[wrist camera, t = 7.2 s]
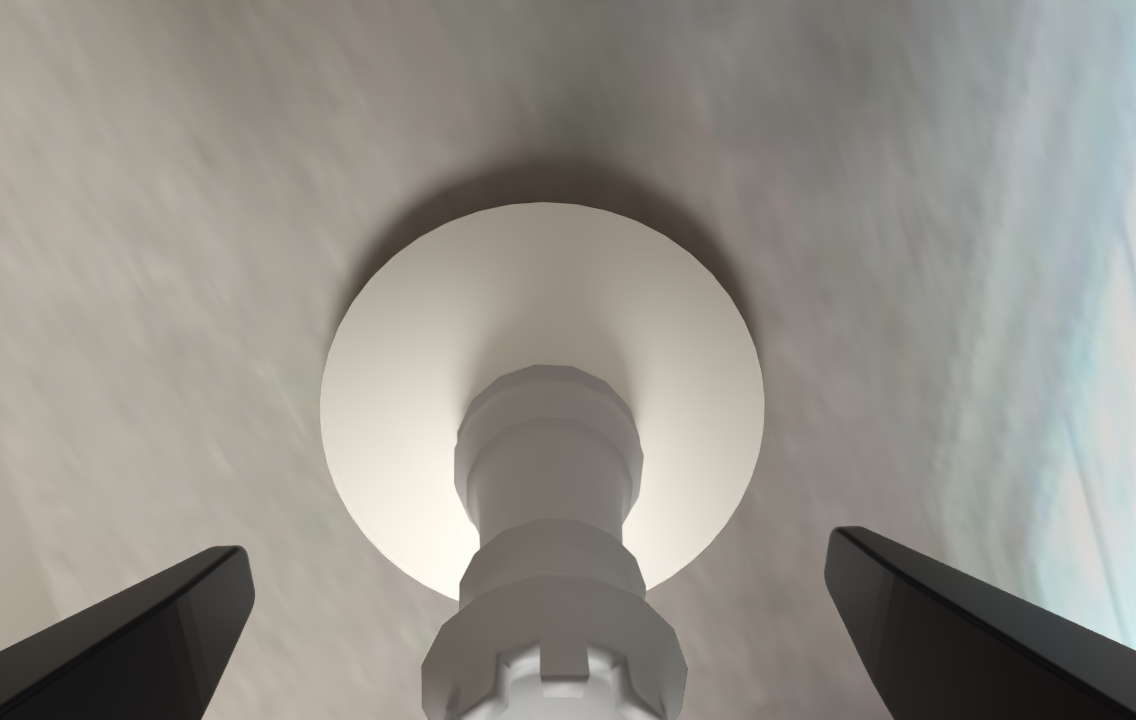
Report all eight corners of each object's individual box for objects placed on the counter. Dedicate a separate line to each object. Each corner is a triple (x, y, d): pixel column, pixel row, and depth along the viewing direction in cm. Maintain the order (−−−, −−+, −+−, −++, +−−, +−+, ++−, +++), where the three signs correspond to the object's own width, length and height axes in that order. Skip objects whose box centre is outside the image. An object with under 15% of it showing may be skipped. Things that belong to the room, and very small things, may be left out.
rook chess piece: (442, 501, 14) (311, 887, 6) (479, 338, 12) (378, 548, 5) (608, 536, 14) (690, 933, 6) (659, 381, 13) (832, 635, 5)
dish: (768, 201, 13) (787, 200, 12) (732, 583, 16) (744, 607, 15) (307, 203, 12) (287, 202, 11) (360, 597, 15) (348, 623, 14)
